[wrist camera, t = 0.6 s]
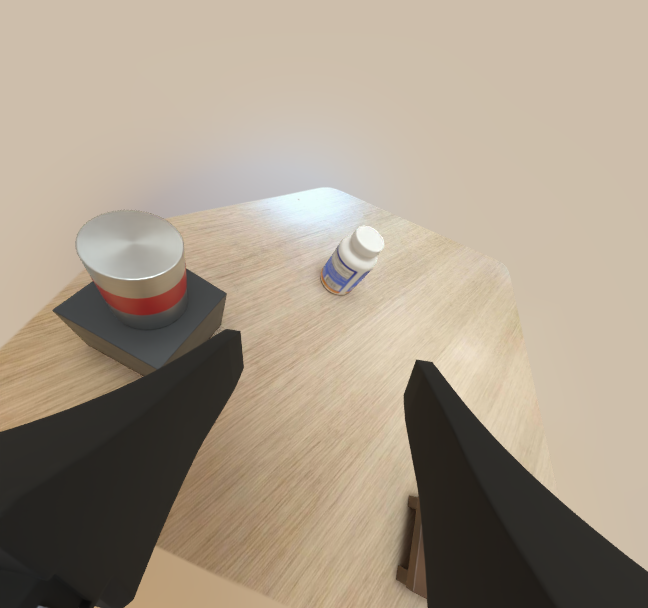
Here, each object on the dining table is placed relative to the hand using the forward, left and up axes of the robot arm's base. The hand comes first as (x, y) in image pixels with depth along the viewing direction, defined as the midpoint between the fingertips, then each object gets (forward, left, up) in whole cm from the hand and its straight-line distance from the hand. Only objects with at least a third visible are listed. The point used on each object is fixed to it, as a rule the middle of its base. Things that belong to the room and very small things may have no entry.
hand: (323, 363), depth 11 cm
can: (+2, +12, -12) cm, 17 cm away
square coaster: (+2, +12, -19) cm, 22 cm away
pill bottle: (+21, -1, -19) cm, 29 cm away
